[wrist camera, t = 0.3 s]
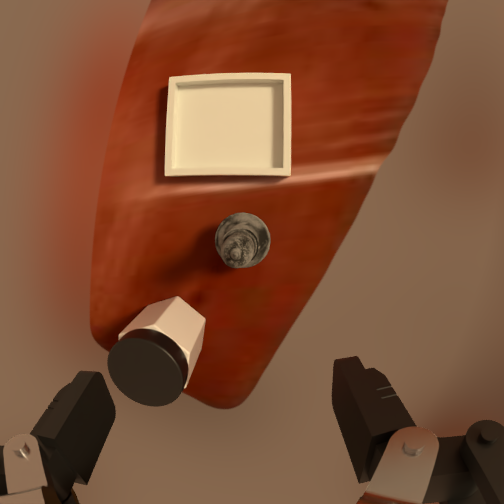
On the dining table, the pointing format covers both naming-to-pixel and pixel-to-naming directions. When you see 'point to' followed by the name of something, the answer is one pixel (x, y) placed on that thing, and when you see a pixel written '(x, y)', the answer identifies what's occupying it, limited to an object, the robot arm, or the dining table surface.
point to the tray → (229, 125)
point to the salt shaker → (242, 240)
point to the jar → (157, 352)
